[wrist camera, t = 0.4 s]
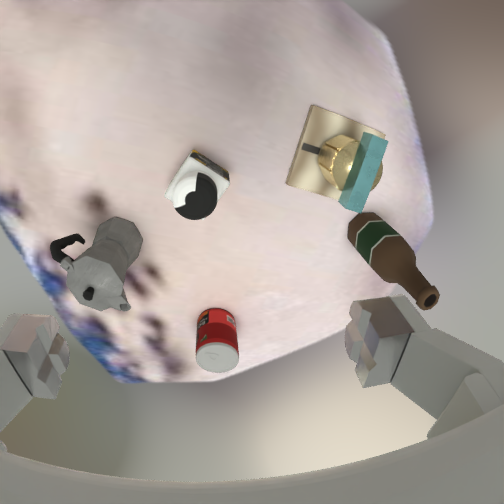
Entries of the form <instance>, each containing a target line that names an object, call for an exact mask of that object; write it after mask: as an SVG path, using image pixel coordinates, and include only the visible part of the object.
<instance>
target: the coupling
mask: <svg viewBox="0 0 504 504" xmlns="http://www.w3.org/2000/svg"><path fill="white" fill-rule="evenodd" d="M325 144H326V145H324V144H323V146H322V149H321V152H320V155H319V157H318V160H317V161H318V162H319V163H318V165H319V167H320V170H321V172H322V174H323V176H324V178H325V179H326V180H327V181H328V182H329V183H331V184H332V185H333V186H334V187H336V188H337V189H338V190H339V191H342V193H341V196H340V198H339V201H338V202H339V203H340V204H341V205H342V206H343V207H344V208H345V209H348V210H352V211H355V212H358V213H361V212H362V210H363V208H364V205H365V203H366V200H367V198H368V195H369V192H370V191H371V190H373V189H374V188H375V187H376V185H377V184H378V183H379V181H380V179H381V176H382V170H383V165H382V158H383V155H384V152H385V150H386V147H387V144H388V141H387V140H385V139H382V138H380V137H378V136H376V135H373V134H370V133H367V132H363V135H362V138H361V141H358V140H356V139H353V138H350V137H347V136H345V135H338V136H336V137H334V138H332V139H330V140H328V141H326V142H325Z"/></svg>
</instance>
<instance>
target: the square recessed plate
mask: <svg viewBox="0 0 504 504" xmlns="http://www.w3.org/2000/svg"><path fill="white" fill-rule="evenodd" d="M363 132H367V133H370V134H373V135H376V136H378V137H380V138H382V139H384V138H385V136H386V135H385V134H383V133H381V132H378V131H376V130H374V129H372V128H369V127H367V126H365V125H362V124H360V123H358V122H355V121H353V120H350V119H348V118H346V117H343V116H341V115H338V114H335V113H333V112H330V111H328V110H325V109H322V108H319V107H317V106H314V105H311V107H310V110H309V113H308V116H307V119H306V122H305V125H304V128H303V131H302V135H301V138H300V141H299V144H298V147H297V150H296V153H295V156H294V159H293V162H292V165H291V168H290V171H289V174H288V177H287V180H286V184H287V185H289V186H292V187H296V188H299V189H303V190H306V191H310V192H313V193H316V194H320V195H323V196H326V197H330V198H333V199H336V200H339V198H340V196H341V193H342V191H339V190H338V189H337V188H336V187H334V186H333V185H332V184H331V183H329V182H328V181H327V180H326V179H325V178H324V176H323V174H322V172H321V170H320V167H319V165H318V163H319V162H318V161H317V160H318V157H319V155H320V152H321V149H322V146H323V144H324V145H326V144H325V142H326V141H328V140H330V139H332V138H334V137H336V136H338V135H345V136H347V137H350V138H353V139H356V140H358V141H361V138H362V135H363Z"/></svg>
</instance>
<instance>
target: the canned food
mask: <svg viewBox="0 0 504 504" xmlns="http://www.w3.org/2000/svg"><path fill="white" fill-rule="evenodd" d="M196 361H197V363H198V365H199V366H200V367H201V368H203V369H204V370H207V371H209V372H215V373H222V372H227V371H230V370H232V369H233V368H234V367H236V365H237V364H238V361H239V351H238V342H237V333H236V323H235V320H234V318H233V317H232V315H231V314H230V313H229V312H227V311H225V310H223V309H218V308H214V309H209V310H206V311H204V312H203V313H202V314H201V315H200V317H199V319H198V322H197V337H196Z"/></svg>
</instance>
